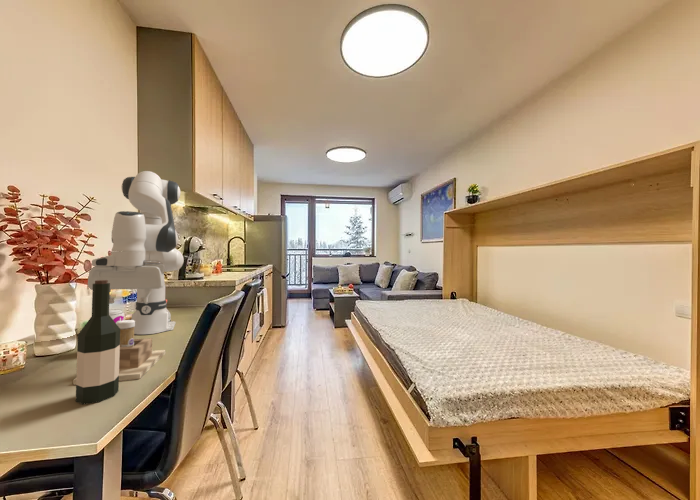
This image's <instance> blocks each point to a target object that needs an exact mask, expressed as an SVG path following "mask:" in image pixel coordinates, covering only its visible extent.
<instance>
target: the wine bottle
mask: <svg viewBox="0 0 700 500" xmlns="http://www.w3.org/2000/svg"><path fill="white" fill-rule="evenodd" d="M110 293H111V292H110V283H108V280H96V281H95V284H93V290H92V297H91V317H90V318H89V319H88V321H87V322H86V323H85V325H84V326H83V327H82V329H81V330H80V331H79V332H78V334H77V345H76V346H77V351H76V355H77V356H76V377H75V378H76V385H75V402H76V403H79V404H81V405H90V404H96V403H100V402H103V401H106V400H108V399H111V398H113V397H115V396H116V395H117V393H118V392H119V385H120V381H119V357H120V328H119V327H118V325H117V324H116V323H115V322H114V320H113V319H112V318H111V317H110V315H109V310H110V304H109V297H110V296H111V294H110Z"/></svg>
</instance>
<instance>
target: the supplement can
mask: <svg viewBox="0 0 700 500" xmlns="http://www.w3.org/2000/svg"><path fill="white" fill-rule="evenodd" d="M109 315H110V317H111V318H112V319H113V320H114V322H115V323H116V324H117V323H118V322H119V321H124V320H125V313H124V312H123V309H119V308H117V309H112V308H111V309H109Z"/></svg>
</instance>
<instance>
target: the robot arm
mask: <svg viewBox="0 0 700 500" xmlns="http://www.w3.org/2000/svg"><path fill="white" fill-rule="evenodd" d="M179 186H180V185H179V184H178V182H176V181H173V180H170V179H169V180H168V179H167V180H166V179H161V177H160V176H159V175H158V174H157V173H155V172H154V171H150V170H144V171H139V172H138V173H137V174H136V176H128V177H125V178H124V179H123V180H122V184H121V192H122V195H123V197H125V198H126V199H127V200H128V201H129V203H130V204H131V205H132V206H133V207H134V208H135V209H136V210H138V212H137V211H125V210H124V211H118V212H116V213H115V214H114V218H113V222H112V223H113V224H112V227H111V243H112V248H111V254H110V255H105V256H103V257H98V258H95V259H92V260H91V265H92V266H93V267H92V268H91V269H90V270H89V273H88V277H87V278H88V279H87V287H88V288H89V289H90V290H93V284H95V281H96V280H108V283H110V293H111V292H112V290H136V302H135V305H134V306H135V311H134V312H132V314H131V317H130V318H131V319H130V320H134V321H135V326H134V335H153V334H158V333H163V332H167V331H172V330H173V331H174V328H175V326H176V321H174V320H173V321H172V320H171V315H172V314H171V312H170V310H168V308H167V303H168V299H166V287H167V286H166V283H165V272H173V271H178V270H180V269H182V267H183V265H184V262H185V261H184V260H185V259H184V255H183V254H182V252H181V251H180V250H179V249H177V246H178V244H179V243H178V242H179V236H178V232H177V229H176V227H175V220H174V214H173V210H172V205H173V204H174V205H175V204H176V203H178V201H179V200H180V198H181V195H182V194H181V193H182V192H181V188H180V187H179ZM114 303H115V297H112V296H111V295H110V297H109V305H110V304H114Z"/></svg>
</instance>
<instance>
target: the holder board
mask: <svg viewBox="0 0 700 500" xmlns="http://www.w3.org/2000/svg"><path fill="white" fill-rule="evenodd" d="M165 355H166V349H159V350H158V349H156V350H153V337H151V338H149V337H147V338H134V347H120V357H119V382H121V381H131V380H133V381H134V380H140V379H142V377H144V376H145V374H146V373H147V372H148V371H149V370H151V369H152V368H153V367H154V366H155V364H157V363H158V361H160V359H162V358H163V357H164V356H165ZM72 383H73V386H74V385H75V386H76V377H75V378H74V379H73V381H72Z"/></svg>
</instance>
